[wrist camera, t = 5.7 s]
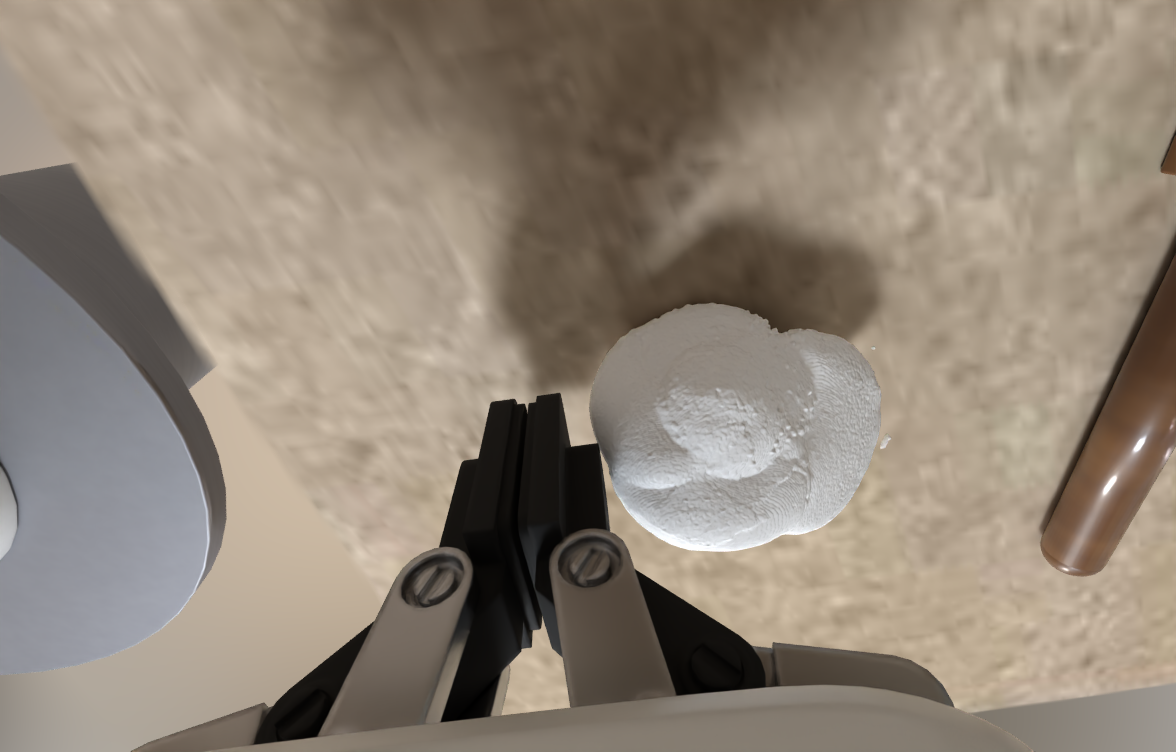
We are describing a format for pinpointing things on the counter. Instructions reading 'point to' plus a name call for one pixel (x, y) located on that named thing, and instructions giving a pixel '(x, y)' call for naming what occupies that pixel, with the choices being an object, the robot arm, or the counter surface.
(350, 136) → the counter surface
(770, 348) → the dumpling
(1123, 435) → the wooden spatula
